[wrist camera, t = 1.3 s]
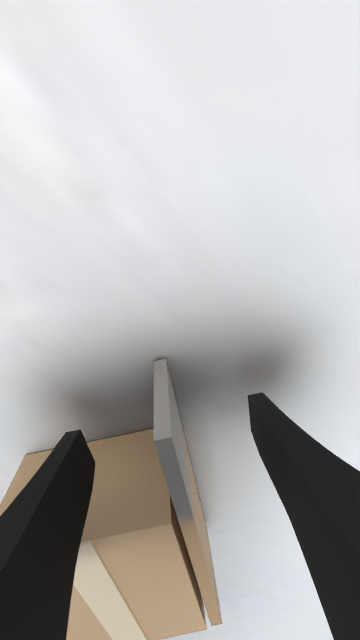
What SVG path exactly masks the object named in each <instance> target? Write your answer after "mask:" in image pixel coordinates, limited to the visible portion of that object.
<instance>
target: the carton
mask: <svg viewBox="0 0 360 640" xmlns="http://www.w3.org/2000/svg"><path fill="white" fill-rule="evenodd" d="M86 443H87V445H88V447H89V449H90V451H91V454H92V456H93V458H94V460H95V462H96V463H95V473H94V482H93V490H92V495H91V499H90V504H89V508H88V513H87V517H86V521H85V526H84V530H83V534H82V539H81V543H80V548H79V552H78V557H77V562H76V568H75V575H74V582H73V589H72V596H71V604H70V612H69V620H68V628H67V636H66V640H159V639H163V638H168V637H173V636H178V635H182V634H187V633H192V632H197V631H202V630H206V629H207V628H206V620H205V611H204V603H203V598H202V594H201V591H200V588H199V585H198V582H197V578H196V575H195V572H194V569H193V566H192V563H191V559H190V556H189V553H188V550H187V547H186V543H185V540H184V537H183V534H182V531H181V527H180V524H179V521H178V518H177V515H176V511H175V508H174V505H173V502H172V499H171V495H170V492H169V489H168V486H167V483H166V479H165V476H164V473H163V470H162V467H161V464H160V460H159V457H158V454H157V451H156V448H155V444H154V441H153V429H149V430H144V431H139V432H134V433H129V434H124V435H120V436H115V437H110V438H105V439H100V440H95V441H90V442H86ZM52 451H53V449H52V450H47V451H42V452H37V453H32V454H27V455H25V457H24V459H23V461H22V463H21V465H20V467H19V469H18V471H17V473H16V475H15V477H14V479H13V481H12V483H11V485H10V487H9V489H8V491H7V493H6V495H5V497H4V499H3V501H2V503H1V505H0V516H1V515H2V513H3V512H4V511H5V510H6V509H7V508H8V506H9V505H10V504H11V503H12V502H13V500H14V499H15V498H16V497H17V495H18V494H19V493H20V492H21V491H22V489H23V488H24V487H25V486H26V485H27V483H28V482H29V481H30V480H31V478H32V477H33V476H34V474H35V473H36V472H37V470H38V469H39V468H40V467H41V465H42V464H43V463H44V461H45V460H46V459H47V457H48V456H49V455H50V453H51V452H52Z"/></svg>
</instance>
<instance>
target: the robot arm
mask: <svg viewBox="0 0 360 640" xmlns="http://www.w3.org/2000/svg"><path fill="white" fill-rule="evenodd" d="M248 403H249V414H250V424H251V432H252V434H253V437H254V440H255V443H256V446H257V449H258V452H259V454H260V456H261V459H262V461H263V463H264V465H265V467H266V469H267V471H268V474H269V476H270V478H271V480H272V482H273V484H274V486H275V488H276V490H277V492H278V495H279V497H280V499H281V501H282V503H283V505H284V507H285V509H286V512H287V514H288V516H289V519H290V521H291V523H292V526H293V528H294V531H295V534H296V536H297V539H298V542H299V544H300V547H301V550H302V552H303V555H304V558H305V560H306V563H307V566H308V568H309V571H310V574H311V577H312V579H313V582H314V585H315V588H316V590H317V593H318V596H319V599H320V602H321V604H322V607H323V610H324V613H325V616H326V618H327V621H328V624H329V627H330V630H331V633H332V636H333V638H334V640H360V471H358V470H357V469H355V468H354V467H352V466H351V465H349V464H348V463H346V462H345V461H343V460H342V459H340V458H339V457H337V456H336V455H335V454H333V453H332V452H330V451H329V450H328V449H326V448H325V447H324V446H322V445H321V444H320V443H319V442H317V441H316V440H315V439H313V438H312V437H311V436H310V435H308V434H307V433H306V432H305V431H304V430H302V429H301V428H300V427H299V426H298V425H297V424H295V423H294V422H293V421H292V420H291V419H290V418H289V417H287V416H286V415H285V414H284V413H283V412H282V411H281V410H280V409H279V408H278V407H277V406H276V405H275V404H274V403H273V402H272V401H271V400H270V399H269V398H268V397H267V396H266V395H265V394H263V393H257V394H252V395H248ZM95 463H96V462H95V460H94V458H93V456H92V454H91V451H90V449H89V447H88V445H87V443H86V441H85V438H84V436H83V434H82V432H81V430H76V431H71V432H66V433H65V435H64V436H63V437H62V439H61V440H60V441H59V443H58V444H57V445H56V447H55V448H54V449H53V451H52V452H51V453H50V455H49V456H48V457H47V459H46V460H45V461H44V463H43V464H42V465H41V467H40V468H39V469H38V470H37V472H36V473H35V474H34V476H33V477H32V478H31V480H30V481H29V482H28V483H27V485H26V486H25V487H24V488H23V489H22V491H21V492H20V493H19V494H18V495H17V497H16V498H15V499H14V500H13V502H12V503H11V504H10V505H9V506H8V508H7V509H6V510H5V511H4V512H3V513H2V515H1V516H0V640H66V636H67V628H68V620H69V612H70V604H71V596H72V589H73V582H74V575H75V568H76V562H77V557H78V552H79V548H80V543H81V539H82V534H83V530H84V526H85V521H86V517H87V513H88V508H89V504H90V499H91V495H92V490H93V482H94V473H95Z"/></svg>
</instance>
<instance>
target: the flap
mask: <svg viewBox="0 0 360 640" xmlns="http://www.w3.org/2000/svg"><path fill="white" fill-rule="evenodd" d="M153 441H154V444H155V448H156V451H157V454H158V457H159V460H160V464H161V467H162V470H163V473H164V476H165V479H166V483H167V486H168V489H169V492H170V495H171V499H172V502H173V505H174V508H175V511H176V515H177V518H178V521H179V524H180V527H181V531H182V534H183V537H184V540H185V543H186V547H187V550H188V553H189V556H190V559H191V563H192V566H193V569H194V572H195V575H196V578H197V582H198V585H199V588H200V591H201V594H202V598H203V601H204V604H205V607H206V610H207V614H208V617H209V620H210V623H211V626H214V625H218V624H222V619H221V613H220V607H219V600H218V594H217V588H216V582H215V576H214V569H213V563H212V557H211V551H210V544H209V538H208V532H207V526H206V522H205V518H204V514H203V510H202V506H201V502H200V498H199V493H198V489H197V485H196V481H195V477H194V473H193V469H192V465H191V460H190V456H189V452H188V448H187V444H186V440H185V436H184V432H183V427H182V423H181V419H180V415H179V411H178V407H177V403H176V398H175V394H174V390H173V386H172V382H171V378H170V374H169V370H168V365H167V361H166V359H162V360H157V361H154V405H153Z"/></svg>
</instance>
